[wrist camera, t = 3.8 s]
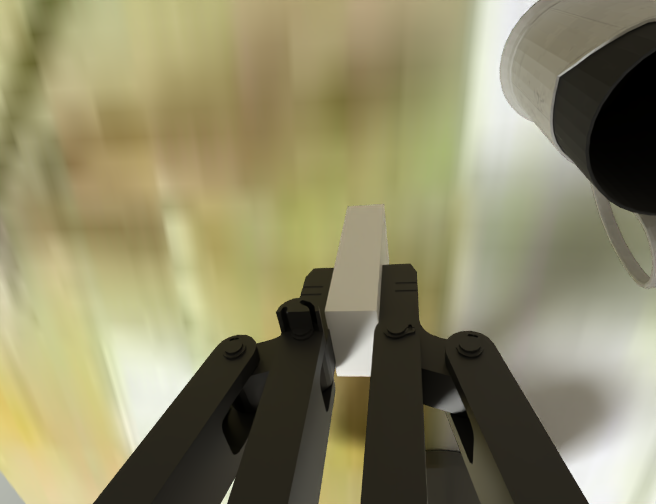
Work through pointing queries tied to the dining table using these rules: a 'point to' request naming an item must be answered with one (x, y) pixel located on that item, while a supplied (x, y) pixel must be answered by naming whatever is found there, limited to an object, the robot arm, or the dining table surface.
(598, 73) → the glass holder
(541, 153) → the dining table surface
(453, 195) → the dining table surface
